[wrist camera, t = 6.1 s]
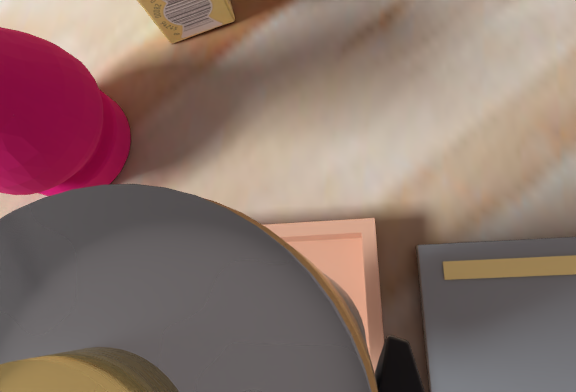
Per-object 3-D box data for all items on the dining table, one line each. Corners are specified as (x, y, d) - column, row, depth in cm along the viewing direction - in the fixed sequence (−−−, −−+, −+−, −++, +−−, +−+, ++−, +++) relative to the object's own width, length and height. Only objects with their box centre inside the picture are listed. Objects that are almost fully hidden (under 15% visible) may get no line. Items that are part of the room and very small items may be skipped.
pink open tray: (188, 432, 22) (167, 448, 20) (189, 236, 24) (170, 230, 22) (388, 432, 21) (392, 450, 19) (373, 225, 23) (374, 217, 21)
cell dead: (235, 450, 15) (-303, 1097, 3) (193, 291, 17) (-303, 267, 4) (391, 401, 15) (548, 909, 3) (336, 243, 16) (259, 57, 4)
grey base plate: (435, 455, 21) (438, 462, 20) (416, 246, 22) (418, 244, 22) (664, 457, 19) (679, 464, 18) (623, 236, 21) (635, 233, 20)
